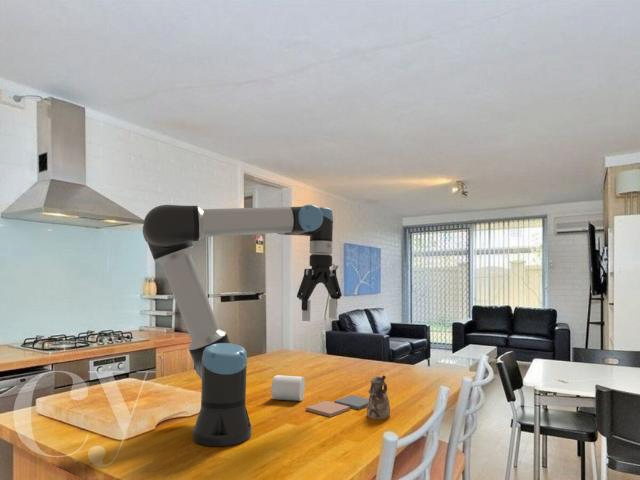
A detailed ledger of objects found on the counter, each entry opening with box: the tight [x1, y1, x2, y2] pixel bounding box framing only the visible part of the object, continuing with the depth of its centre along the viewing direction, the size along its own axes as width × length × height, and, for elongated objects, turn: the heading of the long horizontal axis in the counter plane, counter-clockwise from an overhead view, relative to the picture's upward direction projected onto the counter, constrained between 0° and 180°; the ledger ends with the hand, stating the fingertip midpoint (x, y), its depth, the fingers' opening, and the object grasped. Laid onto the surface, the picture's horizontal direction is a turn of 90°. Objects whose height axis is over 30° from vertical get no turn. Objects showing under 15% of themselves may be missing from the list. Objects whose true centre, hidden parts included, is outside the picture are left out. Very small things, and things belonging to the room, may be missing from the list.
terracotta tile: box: [305, 400, 351, 418], centre depth 142 cm, size 10×10×1 cm
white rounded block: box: [270, 374, 306, 402], centre depth 156 cm, size 12×10×8 cm
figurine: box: [366, 375, 391, 420], centre depth 138 cm, size 7×7×12 cm
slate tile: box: [333, 394, 369, 411], centre depth 150 cm, size 10×10×1 cm
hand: (319, 319), depth 144 cm, fingers open, 13 cm apart
